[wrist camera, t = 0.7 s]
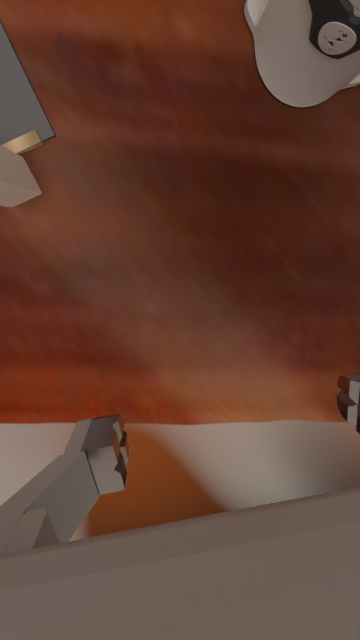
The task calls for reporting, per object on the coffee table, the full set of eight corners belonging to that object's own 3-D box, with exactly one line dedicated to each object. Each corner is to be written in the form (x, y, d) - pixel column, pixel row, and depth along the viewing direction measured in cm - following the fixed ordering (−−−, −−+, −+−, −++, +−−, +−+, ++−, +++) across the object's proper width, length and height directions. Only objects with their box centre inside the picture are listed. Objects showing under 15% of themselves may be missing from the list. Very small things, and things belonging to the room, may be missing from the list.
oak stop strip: (38, 131, 36) (35, 129, 35) (44, 143, 37) (41, 141, 36) (-40, 167, 37) (-45, 166, 36) (-33, 179, 38) (-38, 177, 37)
